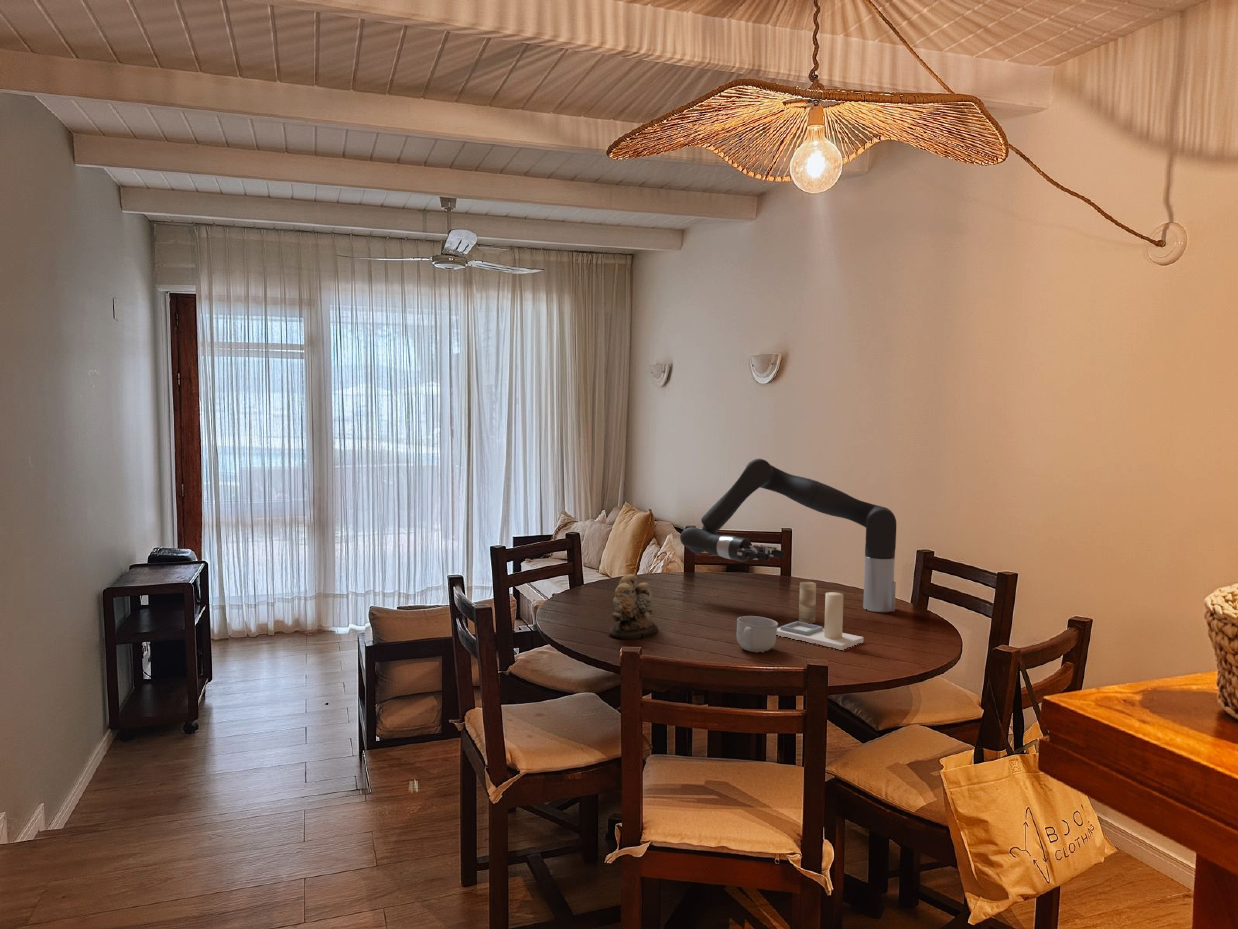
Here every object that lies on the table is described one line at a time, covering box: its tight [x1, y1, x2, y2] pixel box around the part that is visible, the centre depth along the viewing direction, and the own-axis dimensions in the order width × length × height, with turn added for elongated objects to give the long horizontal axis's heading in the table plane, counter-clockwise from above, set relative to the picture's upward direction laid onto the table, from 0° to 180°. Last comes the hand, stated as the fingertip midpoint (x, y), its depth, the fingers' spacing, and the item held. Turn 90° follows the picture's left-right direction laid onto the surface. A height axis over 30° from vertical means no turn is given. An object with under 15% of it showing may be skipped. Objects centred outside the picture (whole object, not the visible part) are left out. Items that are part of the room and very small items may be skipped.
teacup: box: [736, 615, 779, 653], centre depth 220 cm, size 14×11×8 cm
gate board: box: [777, 591, 864, 651], centre depth 232 cm, size 22×12×14 cm, turn 46°
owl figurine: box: [608, 573, 659, 640], centre depth 236 cm, size 18×12×17 cm, turn 145°
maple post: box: [798, 581, 817, 624], centre depth 250 cm, size 5×5×12 cm
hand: (776, 556), depth 257 cm, fingers open, 8 cm apart
